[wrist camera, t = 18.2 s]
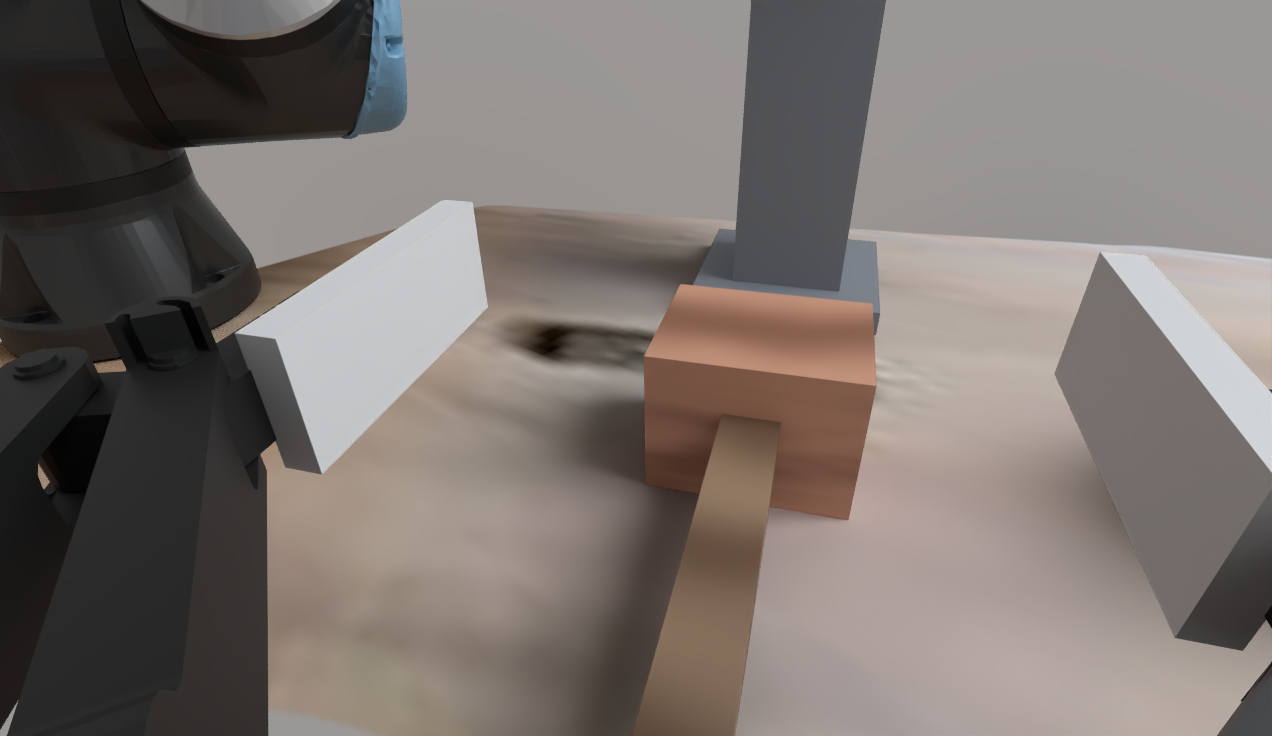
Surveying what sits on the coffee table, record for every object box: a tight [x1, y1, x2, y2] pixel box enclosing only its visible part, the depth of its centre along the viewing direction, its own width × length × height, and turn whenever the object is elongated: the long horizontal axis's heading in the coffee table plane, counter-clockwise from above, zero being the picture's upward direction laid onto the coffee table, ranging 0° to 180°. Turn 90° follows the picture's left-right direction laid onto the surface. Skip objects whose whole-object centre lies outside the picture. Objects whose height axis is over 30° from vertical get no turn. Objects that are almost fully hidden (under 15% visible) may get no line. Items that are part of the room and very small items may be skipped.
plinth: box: [693, 0, 886, 334], centre depth 42 cm, size 12×12×26 cm
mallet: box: [632, 284, 876, 736], centre depth 25 cm, size 23×9×7 cm, turn 165°
